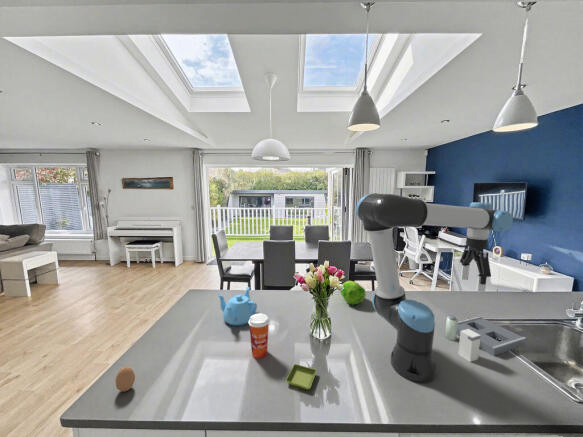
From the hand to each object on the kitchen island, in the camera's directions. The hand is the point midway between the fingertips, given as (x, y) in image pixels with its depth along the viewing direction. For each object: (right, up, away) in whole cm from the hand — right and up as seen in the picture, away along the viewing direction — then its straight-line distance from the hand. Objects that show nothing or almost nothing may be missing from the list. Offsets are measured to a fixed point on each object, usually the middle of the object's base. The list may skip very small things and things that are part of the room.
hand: (472, 284), depth 107 cm
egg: (-135, -27, -28) cm, 140 cm away
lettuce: (-45, -19, +36) cm, 60 cm away
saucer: (-77, -27, -24) cm, 85 cm away
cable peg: (-10, -23, -1) cm, 25 cm away
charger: (-11, -25, -13) cm, 30 cm away
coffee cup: (-93, -25, -10) cm, 97 cm away
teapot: (-108, -22, +16) cm, 111 cm away
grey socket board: (+6, -23, 0) cm, 24 cm away
